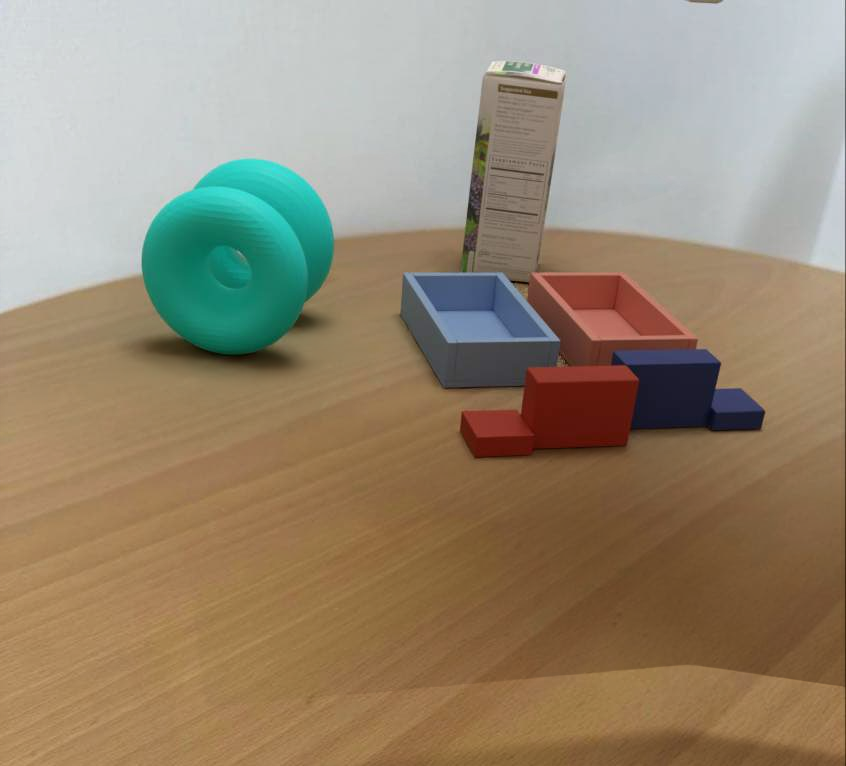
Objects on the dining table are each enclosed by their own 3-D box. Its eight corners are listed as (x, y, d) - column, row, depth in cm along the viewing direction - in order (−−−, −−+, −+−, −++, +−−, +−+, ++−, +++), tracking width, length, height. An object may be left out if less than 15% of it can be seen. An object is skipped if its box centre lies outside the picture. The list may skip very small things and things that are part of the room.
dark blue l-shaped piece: (736, 405, 70) (751, 343, 68) (761, 429, 67) (778, 365, 65) (598, 410, 68) (609, 346, 66) (618, 434, 65) (630, 369, 63)
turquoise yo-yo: (138, 350, 70) (129, 183, 65) (192, 295, 78) (188, 145, 73) (298, 372, 69) (302, 205, 64) (335, 315, 78) (341, 163, 72)
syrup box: (467, 253, 91) (486, 57, 84) (541, 262, 91) (567, 66, 83) (459, 276, 86) (479, 70, 79) (538, 285, 86) (565, 79, 78)
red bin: (617, 311, 82) (624, 271, 81) (689, 381, 72) (698, 338, 71) (525, 312, 81) (530, 272, 79) (585, 384, 71) (592, 340, 69)
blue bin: (497, 312, 80) (502, 272, 79) (554, 385, 70) (561, 340, 69) (400, 313, 79) (402, 272, 77) (443, 388, 69) (447, 342, 67)
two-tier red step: (474, 457, 61) (482, 388, 59) (459, 430, 64) (466, 363, 62) (631, 450, 64) (644, 384, 61) (610, 425, 66) (622, 360, 64)
